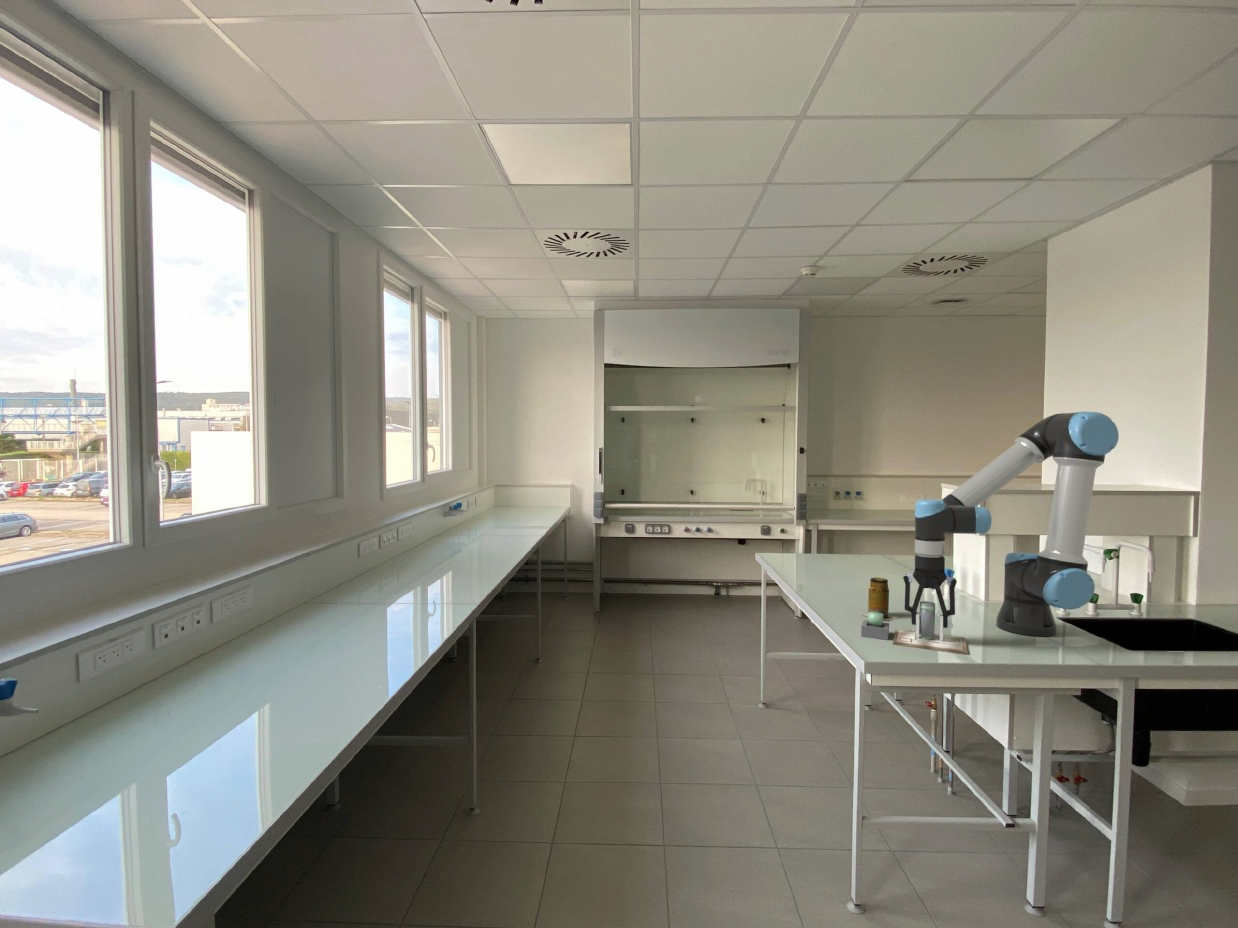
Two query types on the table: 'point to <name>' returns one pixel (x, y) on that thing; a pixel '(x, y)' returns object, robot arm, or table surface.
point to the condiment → (879, 598)
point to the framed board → (930, 642)
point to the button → (875, 618)
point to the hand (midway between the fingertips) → (929, 637)
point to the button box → (875, 630)
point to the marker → (927, 620)
